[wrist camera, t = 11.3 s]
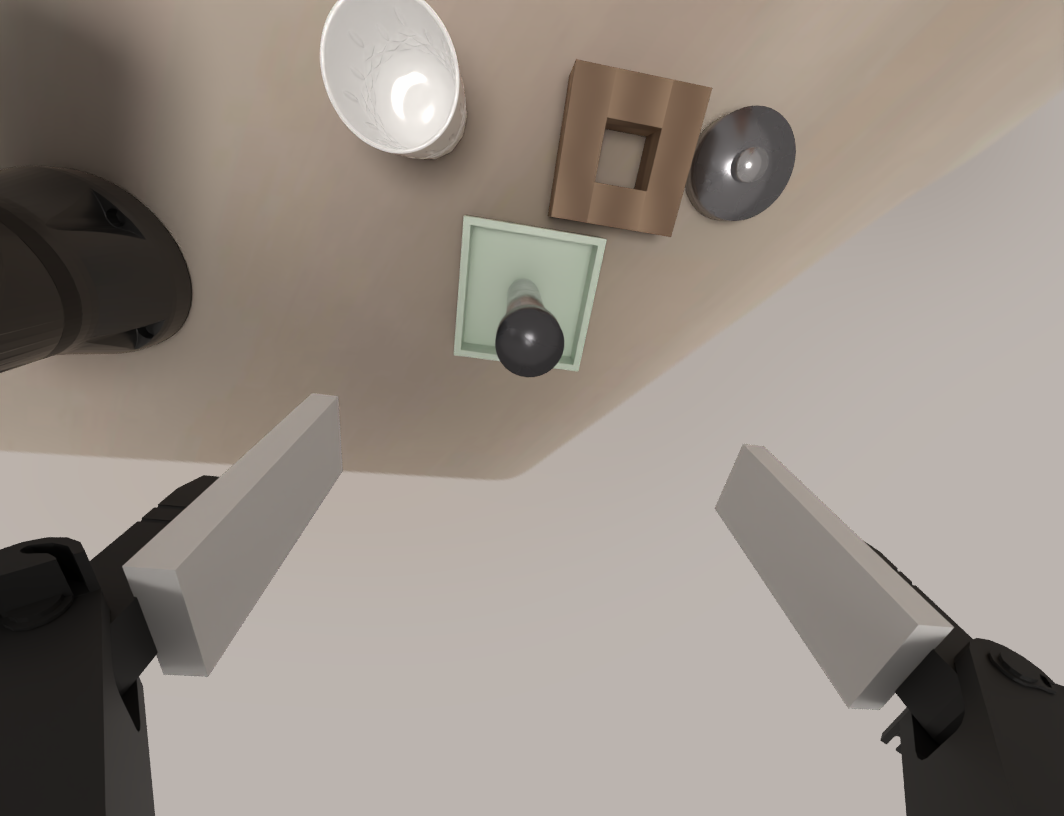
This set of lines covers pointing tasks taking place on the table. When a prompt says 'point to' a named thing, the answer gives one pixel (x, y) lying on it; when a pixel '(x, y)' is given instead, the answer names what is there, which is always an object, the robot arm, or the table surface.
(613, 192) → the block
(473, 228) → the tray
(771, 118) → the grey pot lid
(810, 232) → the table surface
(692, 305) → the table surface
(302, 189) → the table surface
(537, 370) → the lock pin
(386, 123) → the white cup
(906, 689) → the robot arm
